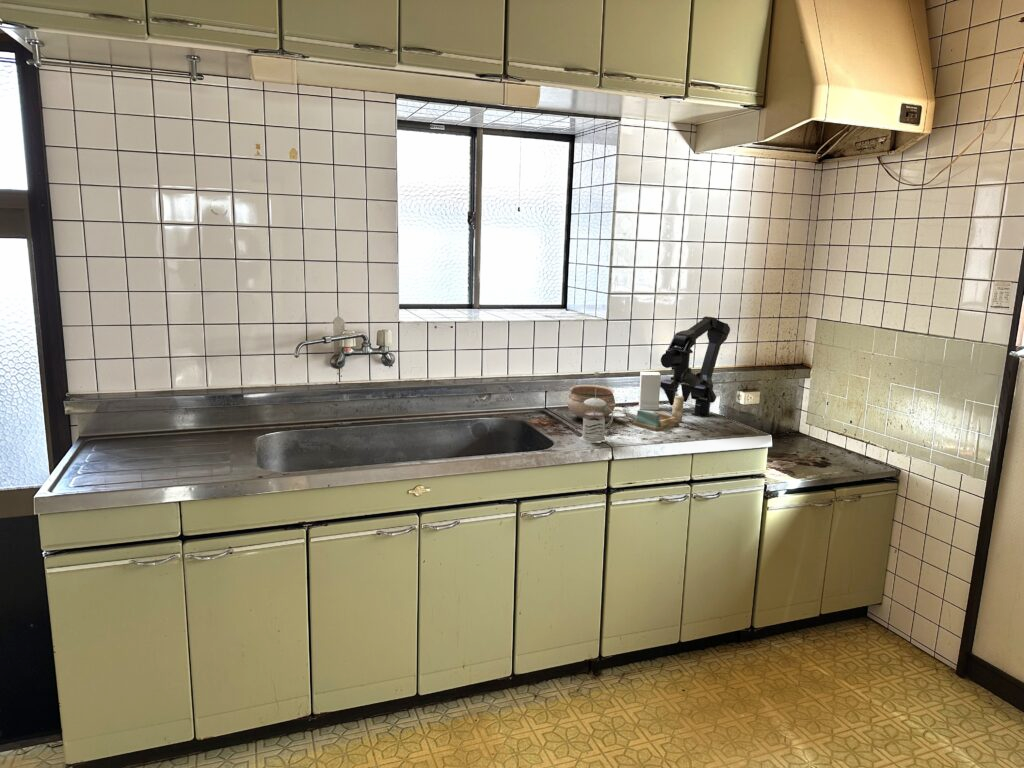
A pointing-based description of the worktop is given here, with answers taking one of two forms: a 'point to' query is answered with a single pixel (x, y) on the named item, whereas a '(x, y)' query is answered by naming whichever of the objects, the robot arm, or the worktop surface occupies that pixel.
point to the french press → (594, 434)
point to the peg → (678, 408)
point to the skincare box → (649, 390)
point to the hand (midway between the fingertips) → (678, 403)
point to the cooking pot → (587, 392)
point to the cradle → (654, 420)
